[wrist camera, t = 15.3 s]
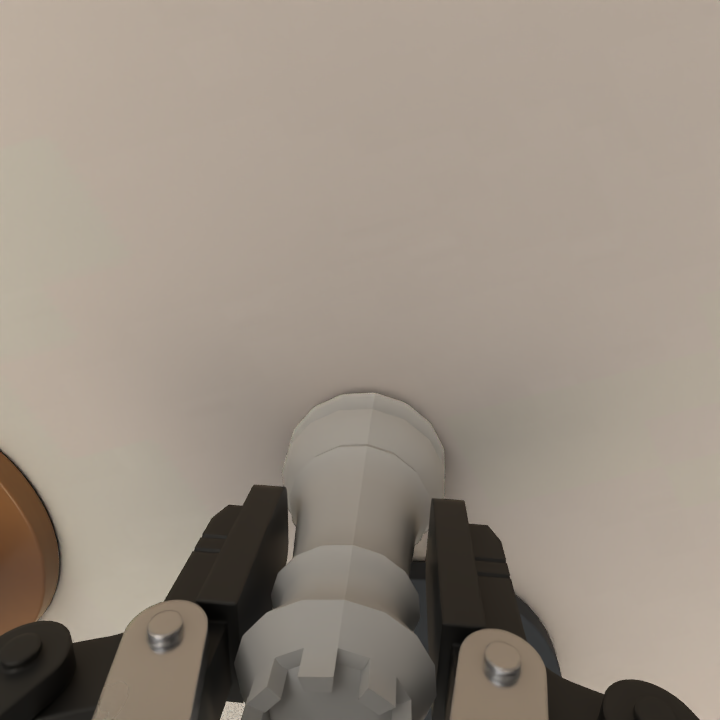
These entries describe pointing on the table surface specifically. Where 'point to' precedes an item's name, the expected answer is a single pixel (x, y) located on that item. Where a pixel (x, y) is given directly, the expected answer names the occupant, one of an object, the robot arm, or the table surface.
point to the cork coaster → (24, 551)
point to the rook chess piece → (349, 570)
